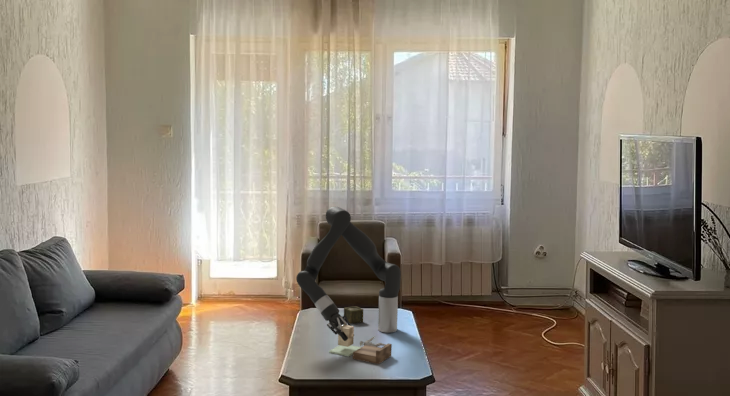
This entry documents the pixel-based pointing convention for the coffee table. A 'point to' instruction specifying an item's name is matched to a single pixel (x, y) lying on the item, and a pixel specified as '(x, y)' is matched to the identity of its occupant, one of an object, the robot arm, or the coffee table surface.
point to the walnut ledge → (373, 353)
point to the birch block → (349, 333)
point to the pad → (344, 350)
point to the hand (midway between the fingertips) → (349, 338)
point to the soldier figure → (371, 343)
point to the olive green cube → (354, 314)
